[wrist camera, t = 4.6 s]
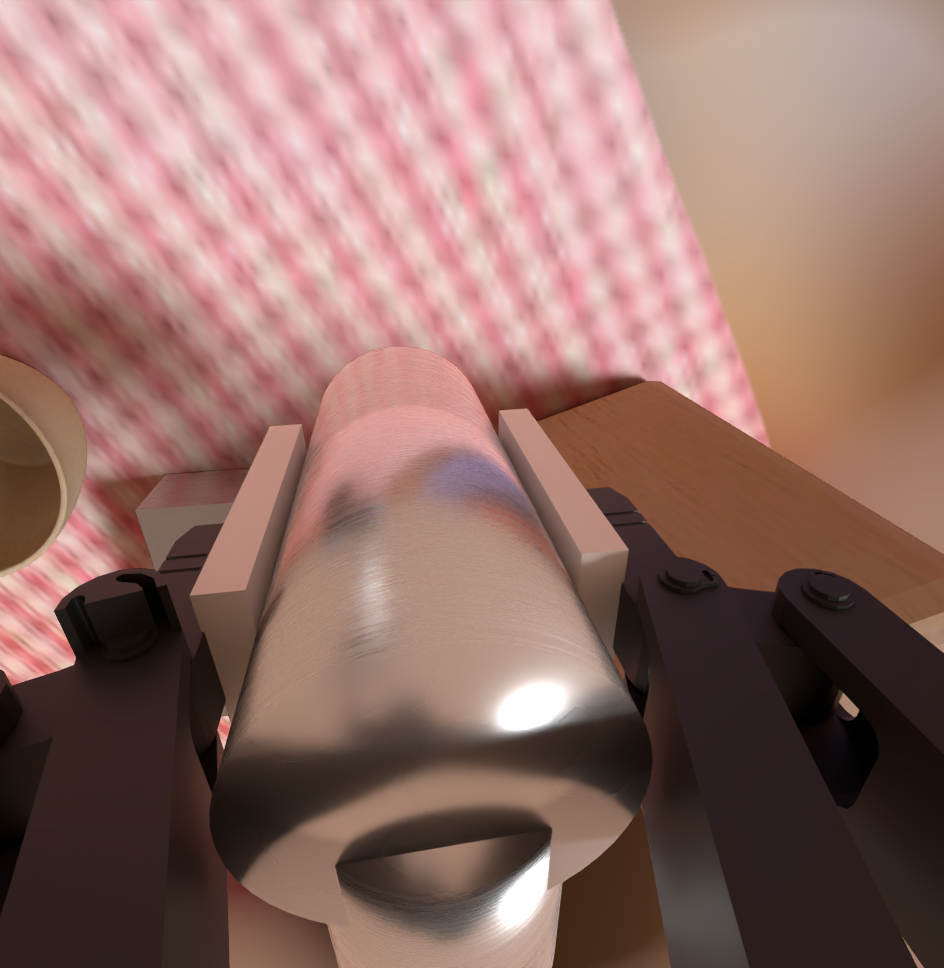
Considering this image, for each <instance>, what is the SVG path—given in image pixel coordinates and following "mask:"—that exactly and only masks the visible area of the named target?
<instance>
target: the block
mask: <svg viewBox="0 0 944 968" xmlns="http://www.w3.org/2000/svg"><path fill="white" fill-rule="evenodd" d="M537 423H538V424H539V425H540V427H541V428H542V430H543V431H544V432H545V434H546V435H547V437H548V438H549V439H550V441H551V442H552V443H553V445H554V446H555V448H556V449H557V450H558V452H559V453H560V455H561V456H562V457H563V459H564V460H565V462H566V463H567V464H568V466H569V467H570V468H571V470H572V471H573V473H574V474H575V475H576V477H577V478H578V480H579V481H580V482H581V484H582V485H583V487H584V488H585V489H591V488H602V487H610V488H612V489H613V490H615V491H617V492H619V493H620V494H622V495H624V496H626V497H627V498H628V499H629V500H630V501H631V502H632V504H633V505H634V506H635V507H636V508H637V510H638V513H641V514H642V516H643V517H644V518H645V519H646V520H647V524H650V525H651V526H652V527H653V529H654V530H655V531H656V532H657V533H658V535H659V536H660V537H661V538H662V539H663V541H664V542H665V543H666V544H667V545H668V547H669V548H670V549H671V550H672V551H673V552H674V554H675V555H676V556H677V557H682V558H689V559H692V560H695V561H697V562H700V563H703V564H705V565H707V566H708V567H710V568H711V569H713V570H714V571H716V572H717V573H718V574H719V575H720V576H721V578H722V579H723V580H724V581H725V583H726V585H727V586H728V587H734V588H741V589H750V590H760V591H769V592H775V590H776V586H777V583H778V580H779V578H780V577H781V576H782V575H783V574H784V573H785V572H786V571H790V570H794V569H797V568H806V569H819V570H823V571H829V572H833V573H835V574H837V575H839V576H842V577H844V578H847V579H849V580H851V581H853V582H854V583H856V584H858V585H859V586H861V587H862V588H864V589H865V590H867V591H868V592H869V593H870V594H872V595H873V596H874V597H875V598H876V599H878V600H879V601H880V602H881V603H883V604H884V605H885V606H886V607H888V608H889V609H890V610H891V611H893V612H894V613H895V614H896V615H897V616H899V617H900V618H901V619H902V620H904V621H905V622H906V623H907V624H909V625H910V626H911V627H912V628H913V629H915V630H916V631H917V632H918V633H920V634H921V635H922V636H923V637H925V638H926V639H927V640H928V641H930V642H931V643H932V644H933V645H934V646H936V647H937V648H938V649H939V650H941V651H942V652H943V653H944V554H942V553H940V552H939V551H937V550H936V549H934V548H932V547H931V546H929V545H927V544H926V543H924V542H922V541H921V540H919V539H918V538H916V537H914V536H913V535H911V534H909V533H908V532H906V531H904V530H903V529H901V528H900V527H898V526H896V525H895V524H893V523H891V522H890V521H888V520H886V519H884V518H883V517H882V516H880V515H878V514H877V513H875V512H873V511H872V510H870V509H868V508H867V507H865V506H864V505H862V504H860V503H859V502H857V501H855V500H854V499H852V498H850V497H849V496H847V495H846V494H844V493H842V492H841V491H839V490H837V489H835V488H834V487H832V486H831V485H829V484H827V483H826V482H824V481H823V480H821V479H819V478H817V477H816V476H814V475H813V474H811V473H809V472H808V471H806V470H805V469H803V468H801V467H800V466H798V465H796V464H795V463H793V462H792V461H790V460H788V459H786V458H785V457H783V456H782V455H780V454H778V453H776V452H775V451H773V450H772V449H770V448H769V447H767V446H765V445H764V444H762V443H760V442H759V441H757V440H755V439H754V438H752V437H751V436H749V435H747V434H746V433H744V432H742V431H741V430H739V429H737V428H736V427H734V426H733V425H731V424H729V423H728V422H726V421H724V420H723V419H721V418H719V417H718V416H716V415H715V414H713V413H711V412H710V411H708V410H706V409H705V408H703V407H701V406H700V405H698V404H697V403H695V402H693V401H692V400H690V399H688V398H687V397H685V396H683V395H682V394H680V393H678V392H677V391H675V390H674V389H672V388H670V387H669V386H667V385H665V384H664V383H662V382H658V381H646V382H643V383H640V384H638V385H635V386H632V387H629V388H627V389H624V390H621V391H619V392H616V393H613V394H610V395H608V396H605V397H602V398H599V399H597V400H594V401H591V402H589V403H586V404H583V405H580V406H578V407H575V408H572V409H570V410H567V411H564V412H561V413H559V414H556V415H553V416H550V417H548V418H545V419H542V420H540V421H537ZM613 662H614V664H615V666H616V668H617V670H618V672H619V674H620V676H621V678H622V680H623V679H624V672H625V671H624V669H623V667H622V665H621V663H620V661H619V659H618V658H617V656H616V654H615V652H614V658H613ZM839 703H840V704H841V705H842V707H843V708H844V709H845V710H846V711H847V712H848V713H850V714H851V715H852V716H853V717H856V716H857V714H858V712H859V709H858V708H857V707H856V706H855V705H854V704H853V703H852V702H851V701H850V699H849V698H848V697H847V696H846V695H845V694H844V693H843V694H842V697H841V699H840V701H839ZM640 806H641V808H642V803H641V805H640ZM642 810H643V808H642Z"/></svg>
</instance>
